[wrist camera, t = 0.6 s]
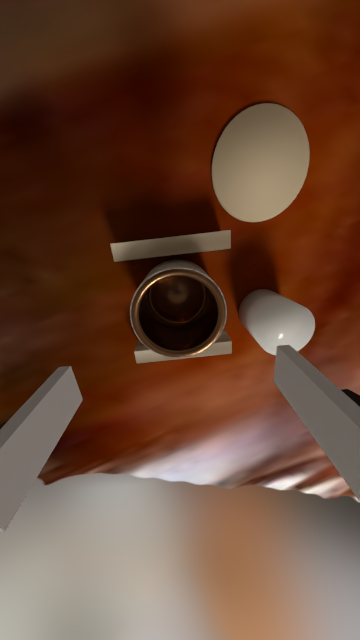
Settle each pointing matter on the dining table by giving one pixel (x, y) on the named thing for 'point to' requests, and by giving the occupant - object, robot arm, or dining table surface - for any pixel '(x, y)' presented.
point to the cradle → (174, 248)
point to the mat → (260, 162)
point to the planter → (178, 310)
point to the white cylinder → (276, 320)
